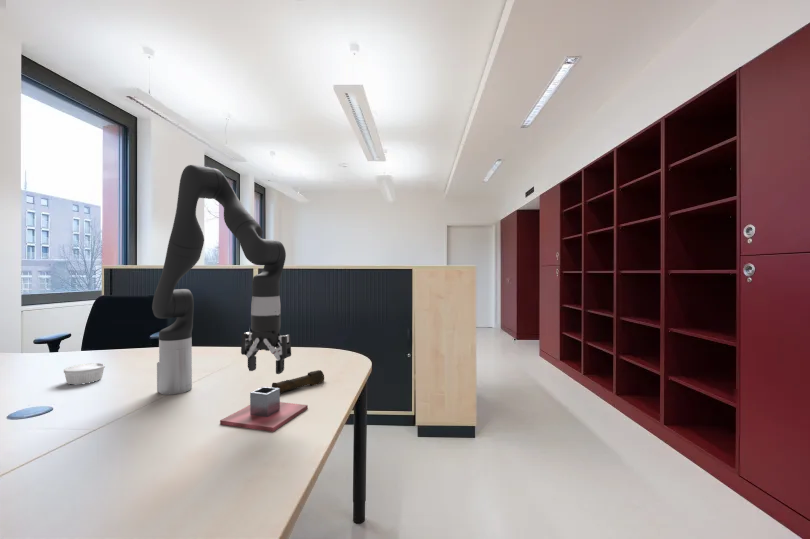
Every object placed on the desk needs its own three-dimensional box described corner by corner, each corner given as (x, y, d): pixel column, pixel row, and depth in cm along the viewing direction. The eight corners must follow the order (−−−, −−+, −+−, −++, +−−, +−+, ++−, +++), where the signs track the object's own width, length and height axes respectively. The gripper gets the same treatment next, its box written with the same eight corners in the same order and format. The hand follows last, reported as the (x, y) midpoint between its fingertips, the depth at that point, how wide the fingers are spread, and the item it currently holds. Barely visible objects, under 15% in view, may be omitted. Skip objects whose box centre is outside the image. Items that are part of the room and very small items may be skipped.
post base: (220, 424, 100) (219, 403, 99) (260, 403, 115) (259, 384, 115) (273, 431, 95) (273, 409, 95) (307, 408, 110) (307, 389, 110)
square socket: (250, 414, 103) (250, 392, 103) (263, 407, 108) (263, 386, 108) (267, 417, 102) (267, 394, 102) (279, 409, 107) (279, 388, 107)
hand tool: (276, 396, 121) (276, 382, 121) (270, 393, 124) (270, 379, 124) (328, 384, 134) (328, 370, 134) (322, 381, 137) (322, 368, 137)
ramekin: (110, 380, 139) (110, 365, 139) (70, 388, 129) (70, 372, 129) (97, 375, 145) (97, 361, 145) (58, 383, 135) (58, 368, 135)
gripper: (234, 313, 103) (234, 373, 103) (280, 315, 99) (280, 378, 99) (252, 309, 110) (252, 366, 111) (296, 312, 106) (296, 370, 107)
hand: (265, 371), depth 105 cm, fingers open, 8 cm apart
